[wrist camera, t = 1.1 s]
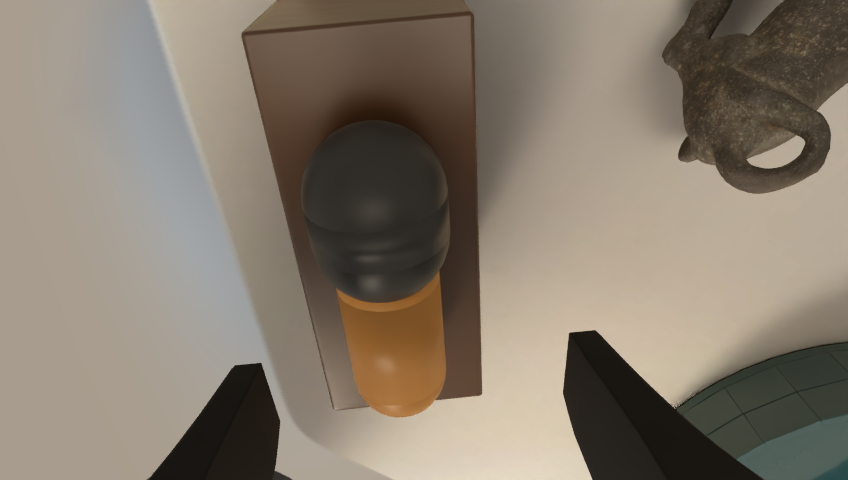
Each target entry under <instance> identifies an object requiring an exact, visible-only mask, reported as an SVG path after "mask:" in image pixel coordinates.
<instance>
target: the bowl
mask: <svg viewBox="0 0 848 480" xmlns="http://www.w3.org/2000/svg"><path fill="white" fill-rule="evenodd" d="M676 410H677V411H678V412H679V413H680V414H681V415H682V416H683V417H685V418H686V419H687V420H688V421H689V422H690V423H692V424H693V425H694V426H695V427H696V428H697V429H699V430H700V431H701V432H702V433H703V434H705V435H706V436H707V437H708V438H709V439H711V440H712V441H713V442H714V443H716V444H717V445H718V446H719V447H721V448H722V449H723V450H725V451H726V452H727V453H729V454H730V455H731V456H732V457H734V458H735V459H736V460H738V461H739V462H740V463H742V464H743V465H744V466H746V467H747V468H749V469H750V470H751V471H753V472H754V473H756V474H757V475H758V476H760V477H761V478H763V479H764V480H848V343H841V344H834V345H826V346H819V347H815V348H810V349H806V350H801V351H797V352H793V353H789V354H786V355H783V356H780V357H776V358H773V359H770V360H767V361H764V362H762V363H759V364H757V365H754V366H752V367H749V368H747V369H744V370H742V371H740V372H738V373H736V374H734V375H732V376H729V377H727V378H725V379H723V380H721V381H719V382H718V383H716V384H714V385H712V386H711V387H709V388H707V389H706V390H704V391H702V392H700V393H699V394H697V395H696V396H694V397H693V398H691V399H690V400H689V401H687V402H686V403H684V404H683V405H681V406H680V407H679V408H678V409H676Z"/></svg>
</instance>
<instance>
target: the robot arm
mask: <svg viewBox="0 0 848 480" xmlns="http://www.w3.org/2000/svg"><path fill="white" fill-rule="evenodd" d="M563 395H564V399H565V402H566V406H567V410H568V414H569V417H570V421H571V424H572V428H573V431H574V435H575V437H576V440H577V442H578V445H579V447H580V450H581V452H582V455H583V457H584V460H585V462H586V465H587V467H588V469H589V472H590V474H591V477H592V479H593V480H764V479H763V478H761V477H760V476H758V475H757V474H756V473H754V472H753V471H751V470H750V469H749V468H747V467H746V466H744V465H743V464H742V463H740V462H739V461H738V460H736V459H735V458H734V457H732V456H731V455H730V454H729V453H727V452H726V451H725V450H723V449H722V448H721V447H719V446H718V445H717V444H716V443H714V442H713V441H712V440H711V439H709V438H708V437H707V436H706V435H705V434H703V433H702V432H701V431H700V430H699V429H697V428H696V427H695V426H694V425H693V424H692V423H690V422H689V421H688V420H687V419H686V418H685V417H683V416H682V415H681V414H680V413H679V412H678V411H677V410H676V409H674V408H673V407H672V406H671V405H670V404H669V403H668V402H667V401H666V400H665V399H664V398H663V397H661V396H660V395H659V394H658V393H657V392H656V391H655V390H654V389H653V388H652V387H651V386H650V385H649V384H648V383H647V382H646V381H645V380H644V379H643V378H642V377H641V376H640V375H639V374H638V373H637V372H636V371H635V370H634V369H633V368H632V367H631V366H630V365H629V364H628V363H627V362H626V361H625V360H624V359H623V358H622V357H621V356H620V355H619V354H618V353H617V352H616V351H615V350H614V349H613V348H612V347H611V346H610V345H609V344H608V343H607V341H606V340H605V339H604V338H603V337H602V336H601V335H600V334H599V333H598V332H597V331H595V330H593V331H583V332H573V333H569V340H568V350H567V360H566V369H565V379H564V389H563ZM279 429H280V419H279V416H278V413H277V410H276V407H275V404H274V401H273V398H272V395H271V392H270V389H269V386H268V383H267V379H266V376H265V373H264V370H263V367H262V364H261V363H256V364H246V365H235V366H234V367H233V368H232V369H231V371H230V372H229V374H228V375H227V377H226V378H225V379H224V381H223V382H222V383H221V385H220V386H219V388H218V389H217V391H216V392H215V393H214V395H213V396H212V398H211V399H210V400H209V402H208V403H207V405H206V406H205V407H204V409H203V410H202V412H201V413H200V414H199V416H198V417H197V419H196V420H195V421H194V423H193V424H192V425H191V426H190V428H189V429H188V430H187V432H186V433H185V434H184V436H183V437H182V438H181V440H180V441H179V442H178V444H177V445H176V446H175V448H174V449H173V450H172V452H171V453H170V454H169V455H168V456H167V457H166V459H165V460H164V461H163V462H162V464H161V465H160V466H159V467H158V469H157V470H156V471H155V472H154V473H153V474H152V476H151V477H150V478H149V479H148V480H272V479H273V475H274V470H275V465H276V458H277V449H278V439H279Z"/></svg>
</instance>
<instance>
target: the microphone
mask: <svg viewBox="0 0 848 480" xmlns="http://www.w3.org/2000/svg"><path fill="white" fill-rule="evenodd" d="M301 202H302V210H303V214H304V219H305V223H306V228H307V232H308V237H309V241H310V246H311V250H312V252H313V255H314V258H315V260H316V263H317V266H318V267H319V269H320V270H321V272H322V273H323V275H324V276H325V277H326V279H327V280H328V281H329V282H330V283H331V284H332V285H333V286H335V287H336V291H337V296H338V301H339V306H340V311H341V316H342V320H343V325H344V330H345V335H346V340H347V345H348V350H349V355H350V360H351V364H352V369H353V374H354V379H355V383H356V386H357V388H358V391H359V393H360V395H361V396H362V398H363V399H364V400H365V402H366V403H367V404H368V405H369V406H370V407H371V408H373V409H374V410H376V411H378V412H379V413H381V414H384V415H387V416H391V417H407V416H412V415H415V414H418V413H420V412H422V411H424V410H425V409H427V408H428V407H429V406H430V405H431V404H432V403H433V402H434V401H435V400H436V398H437V397H438V396H439V394H440V392H441V390H442V388H443V385H444V382H445V378H446V357H445V343H444V329H443V315H442V301H441V287H440V273H439V270H440V268H441V267H442V265H443V263H444V261H445V258H446V254H447V251H448V248H449V242H450V217H449V199H448V186H447V180H446V175H445V172H444V170H443V167H442V165H441V162H440V160H439V158H438V156H437V155H436V154H435V152H434V151H433V149H432V148H431V146H430V145H428V144H427V143H426V142H425V141H424V140H423V139H422V138H421V137H420V136H419V135H418V134H416V133H414V132H413V131H411V130H409V129H407V128H406V127H404V126H402V125H398V124H395V123H391V122H388V121H382V120H367V121H360V122H355V123H352V124H349V125H346V126H344V127H342V128H340V129H339V130H337V131H335V132H333V133H332V134H330V135H329V136H328V137H327V138H326V139H325V140H324V141H323V142H322V143H320V145H319V146H318V147H317V148H316V149H315V151H314V152H313V154H312V155H311V157H310V159H309V161H308V163H307V165H306V168H305V171H304V173H303V177H302V186H301Z"/></svg>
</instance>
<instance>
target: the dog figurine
mask: <svg viewBox="0 0 848 480" xmlns="http://www.w3.org/2000/svg"><path fill="white" fill-rule="evenodd" d="M732 1H733V0H698V1H697V2H696V3H695V4H694V6H693V7H692V9H691V10H690V13H689V16H688V18H687V20H686V22H685V24H684V25H683V27H682V28H681V29H680V30H679V31H678V33H677V34H676V35H675V36H674V37H673V38H672V39H671V40H670V41H669V43H668V44H667V46H666V47H665V50H664V51H663V54H662V57H663V59H664V62H665V63H666V64H667V65H668V66H670V67H672V68H673V69H674V70H676V71H677V72H678V75H679V77H680V79H681V81H682V84H683V101H682V103H683V116H684V125H685V129H686V132H687V134H688V137H686V138H685V140H684V141H683V143H682V145H681V147H680V149H679V153H678V158H679V160H680V161H684V162H690V161H694V160H696V159H698V160H700V161H701V162H703V163H706V164H710V165H716V167H717V169H718V171H719V173H720V175H721V176H722V177H723V178H724V180H725V181H726V182H727V183H729V184H730V185H732V186H733V187H735V188H737V189H739V190H742V191H745V192H748V193H755V194H760V193H768V192H773V191H776V190H780V189H783V188H785V187H788V186H791V185H793V184H796V183H798V182H800V181H802V180H803V179H805V178H807V177H809V176H810V175H812V174H814V173H816V172H817V171H818V170H819V169H820V168H821V167H822V165H823V164H824V162H825V159H826V157H827V154H828V152H829V149H830V140H831V133H830V128H829V125H828V123H827V121H826V119H825V118H824V117H823V115H822V114H820V113H819V112H817V109H818V108H819V107H820V106H821V105H822V104H823V103H824V102H825V101H826V100H827V99H828V98H829V97H831V96H832V95H833V94H834V93H835V92H836V91H838V90H839V89H840V88H841V87H843V86H844V85H845V84H847V83H848V0H785V1H784V2H783V3H781V4H780V5H779V6H778V7H776V8H775V9H774V11H773V12H772V13H771V14H769V15H768V17H767V18H765V19H764V20H763V22H762V23H761V24H760V25H759V26H758V28H757V29H756V30H755V31H754V32H753V33H752V34H751V35H750V36H748V35H746V34H734V35H729V36H724V37H719V38H715V39H710V38H711V36H712V35H713V33H714V31H715V29H716V28H717V26H718V25H719V23H720V21H721V20H722V19H723V17H724V15H725V14H726V12H727V11H728V9H729V7H730V5H731V3H732ZM796 135H798V136H800V137H802V138H803V139H804V140H805V142H806V143H805V146H804V148H803V150H802V152H801V154H800V155H799V156H798V157H797V158H796V159H795V160H793V161H792V162H790V163H788V164H787V165H784V166H782V167H778V168H772V169H765V168H759V167H755V166H753V165H751V164H749V163H748V161H747V160H746V159H747V158H750V157H753V156H755V155H758V154H761V153H763V152H766V151H769V150H771V149H773V148H775V147H777V146H779V145H781V144H783V143H785V142H787V141H789V140H790V139H792V138H793V137H795V136H796Z"/></svg>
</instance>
